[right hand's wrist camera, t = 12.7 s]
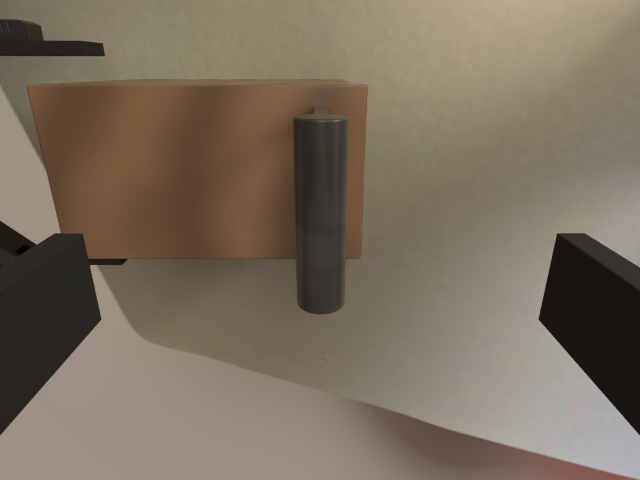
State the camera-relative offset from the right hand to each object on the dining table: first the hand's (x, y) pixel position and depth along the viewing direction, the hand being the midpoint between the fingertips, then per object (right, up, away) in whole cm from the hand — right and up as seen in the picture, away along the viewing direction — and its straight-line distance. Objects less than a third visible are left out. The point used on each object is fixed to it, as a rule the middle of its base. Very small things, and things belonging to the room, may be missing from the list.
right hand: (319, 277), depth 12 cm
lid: (-6, +5, +12) cm, 14 cm away
